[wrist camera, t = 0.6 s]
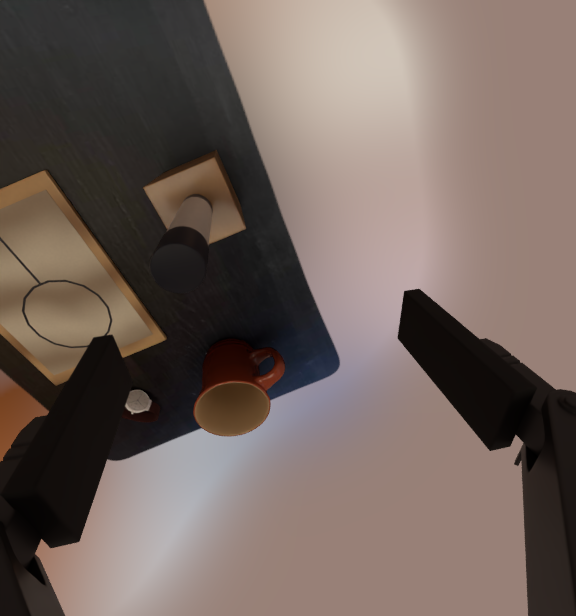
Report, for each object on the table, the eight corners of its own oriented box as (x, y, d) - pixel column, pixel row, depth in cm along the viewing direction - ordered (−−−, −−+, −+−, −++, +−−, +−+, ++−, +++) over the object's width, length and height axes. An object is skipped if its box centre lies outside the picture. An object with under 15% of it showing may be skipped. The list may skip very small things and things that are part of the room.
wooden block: (163, 172, 33) (142, 187, 24) (216, 149, 33) (214, 156, 24) (191, 226, 36) (182, 256, 27) (240, 205, 36) (246, 229, 27)
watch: (167, 397, 47) (163, 416, 44) (152, 418, 49) (148, 438, 45) (114, 379, 44) (106, 398, 41) (100, 401, 45) (91, 421, 42)
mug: (226, 389, 48) (227, 446, 40) (185, 354, 44) (176, 410, 35) (291, 346, 47) (307, 396, 38) (254, 305, 42) (263, 351, 33)
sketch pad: (-101, 232, 31) (-107, 234, 31) (47, 169, 31) (43, 170, 30) (57, 382, 43) (55, 386, 42) (167, 337, 42) (166, 340, 42)
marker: (178, 194, 25) (142, 246, 14) (210, 192, 25) (200, 240, 14) (184, 226, 26) (157, 297, 15) (215, 223, 27) (210, 290, 15)
